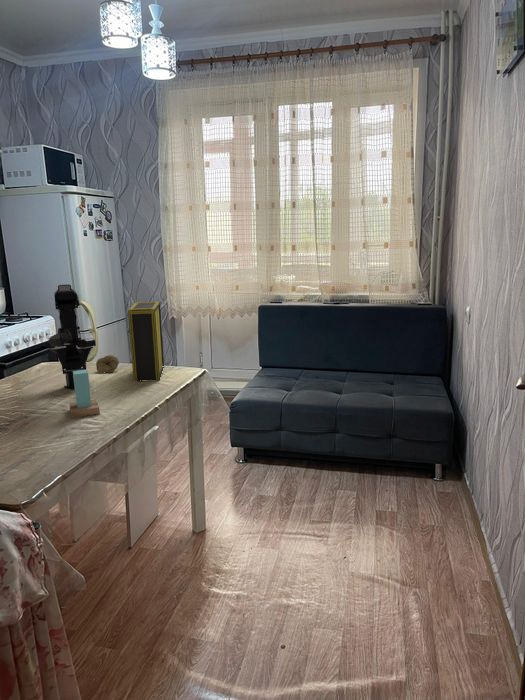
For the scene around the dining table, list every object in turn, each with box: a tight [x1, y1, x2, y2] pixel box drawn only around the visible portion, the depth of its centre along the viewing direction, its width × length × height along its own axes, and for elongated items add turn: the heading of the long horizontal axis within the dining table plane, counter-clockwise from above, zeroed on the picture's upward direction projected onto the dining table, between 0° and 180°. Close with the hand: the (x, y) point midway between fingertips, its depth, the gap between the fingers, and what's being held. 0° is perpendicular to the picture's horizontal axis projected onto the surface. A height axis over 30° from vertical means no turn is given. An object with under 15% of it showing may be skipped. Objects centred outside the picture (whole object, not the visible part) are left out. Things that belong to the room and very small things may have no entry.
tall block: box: [73, 368, 92, 408], centre depth 181 cm, size 4×4×12 cm
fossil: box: [95, 354, 120, 374], centre depth 234 cm, size 9×4×10 cm
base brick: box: [68, 399, 101, 419], centre depth 183 cm, size 9×9×2 cm
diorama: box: [127, 301, 165, 382], centre depth 224 cm, size 21×11×30 cm, turn 5°
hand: (73, 366), depth 195 cm, fingers open, 9 cm apart
